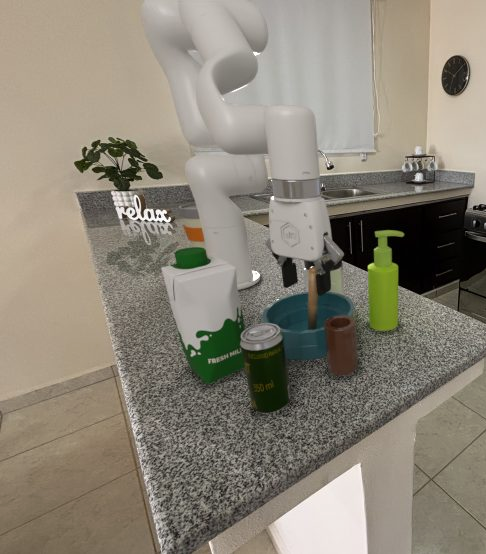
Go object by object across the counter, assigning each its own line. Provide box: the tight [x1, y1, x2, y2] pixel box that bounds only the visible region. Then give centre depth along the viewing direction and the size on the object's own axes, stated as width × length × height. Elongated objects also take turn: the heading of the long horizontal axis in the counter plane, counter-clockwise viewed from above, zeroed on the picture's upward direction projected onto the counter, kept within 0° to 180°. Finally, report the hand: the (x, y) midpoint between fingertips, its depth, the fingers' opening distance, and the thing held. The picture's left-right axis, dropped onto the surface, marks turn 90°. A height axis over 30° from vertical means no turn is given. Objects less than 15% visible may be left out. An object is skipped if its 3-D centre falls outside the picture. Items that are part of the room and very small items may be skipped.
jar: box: [303, 254, 346, 296], centre depth 79 cm, size 9×8×12 cm
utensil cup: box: [324, 315, 358, 377], centre depth 57 cm, size 5×5×9 cm
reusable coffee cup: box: [178, 202, 208, 257], centre depth 111 cm, size 13×13×15 cm
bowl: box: [260, 291, 356, 361], centre depth 66 cm, size 17×17×6 cm
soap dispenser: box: [367, 229, 405, 332], centre depth 68 cm, size 6×7×20 cm
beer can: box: [240, 323, 292, 415], centre depth 49 cm, size 5×5×12 cm
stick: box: [308, 267, 318, 330], centre depth 64 cm, size 2×2×15 cm
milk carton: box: [160, 246, 246, 385], centre depth 54 cm, size 9×9×20 cm
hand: (307, 288), depth 64 cm, fingers open, 6 cm apart
